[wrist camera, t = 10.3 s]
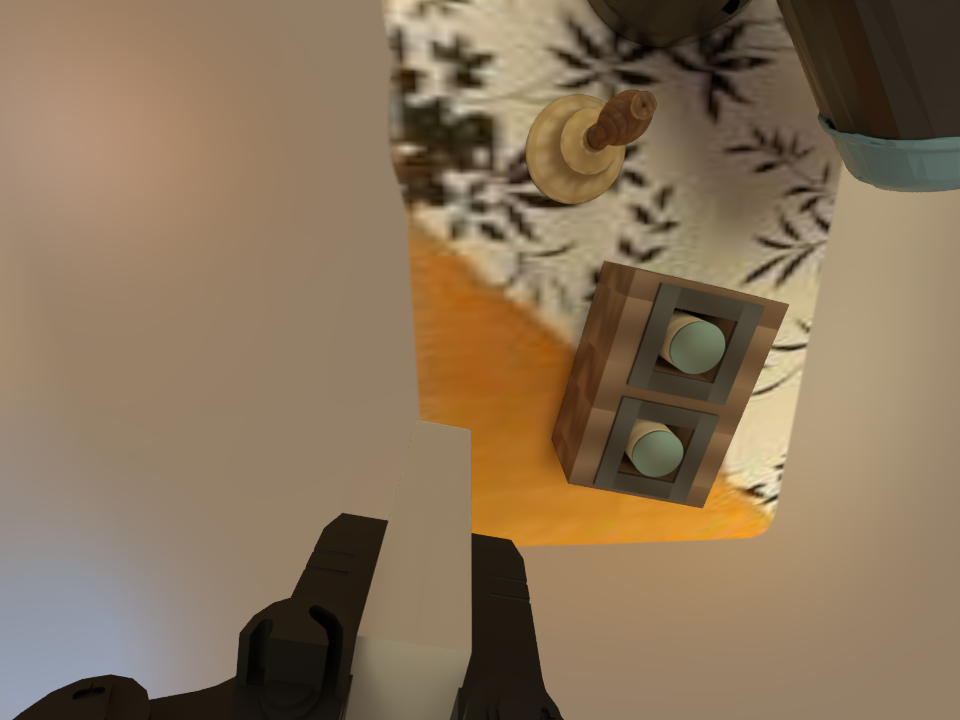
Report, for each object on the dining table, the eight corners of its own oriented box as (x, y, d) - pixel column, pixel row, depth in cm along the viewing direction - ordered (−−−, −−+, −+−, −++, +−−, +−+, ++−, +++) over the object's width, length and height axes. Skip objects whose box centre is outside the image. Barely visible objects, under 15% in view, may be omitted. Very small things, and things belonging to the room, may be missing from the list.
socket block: (604, 260, 40) (638, 269, 32) (729, 289, 41) (792, 305, 33) (551, 439, 45) (569, 486, 37) (663, 460, 46) (705, 511, 38)
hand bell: (600, 218, 39) (685, 213, 23) (511, 184, 38) (539, 156, 22) (641, 117, 36) (764, 40, 21) (547, 79, 35) (605, -31, 20)
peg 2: (640, 298, 40) (682, 316, 32) (681, 307, 40) (733, 328, 32) (626, 340, 41) (663, 368, 33) (667, 349, 42) (713, 378, 34)
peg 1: (610, 389, 43) (642, 427, 35) (649, 397, 43) (690, 437, 35) (598, 426, 44) (626, 471, 36) (636, 434, 44) (673, 480, 36)
